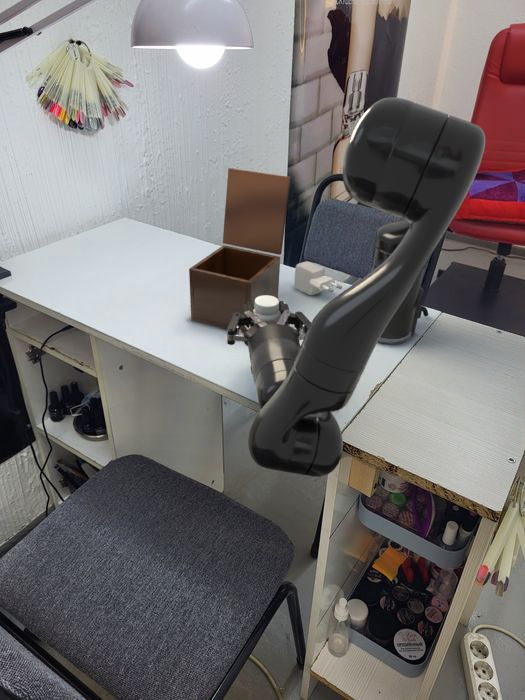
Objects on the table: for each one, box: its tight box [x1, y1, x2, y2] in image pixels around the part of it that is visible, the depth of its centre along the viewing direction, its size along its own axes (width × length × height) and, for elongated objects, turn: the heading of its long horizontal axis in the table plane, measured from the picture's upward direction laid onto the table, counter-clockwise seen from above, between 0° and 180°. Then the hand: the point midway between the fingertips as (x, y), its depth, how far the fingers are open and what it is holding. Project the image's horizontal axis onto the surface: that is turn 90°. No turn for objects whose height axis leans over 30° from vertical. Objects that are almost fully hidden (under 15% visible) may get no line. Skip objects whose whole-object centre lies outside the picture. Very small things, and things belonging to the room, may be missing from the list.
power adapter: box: [294, 260, 343, 296], centre depth 111 cm, size 11×5×6 cm, turn 40°
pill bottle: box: [253, 295, 281, 321], centre depth 86 cm, size 5×5×8 cm
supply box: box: [188, 244, 281, 333], centre depth 102 cm, size 14×13×11 cm
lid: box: [222, 167, 292, 256], centre depth 101 cm, size 14×13×1 cm
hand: (264, 306), depth 87 cm, fingers closed on pill bottle, 4 cm apart
